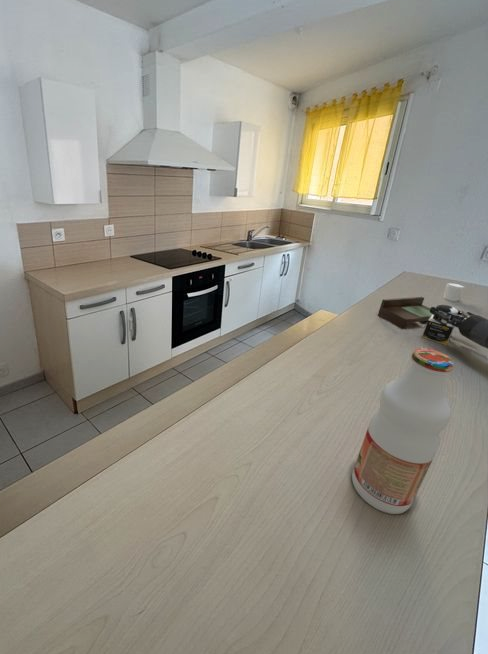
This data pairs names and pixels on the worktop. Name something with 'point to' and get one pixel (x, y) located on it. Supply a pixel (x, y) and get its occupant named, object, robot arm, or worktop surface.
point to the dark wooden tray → (404, 311)
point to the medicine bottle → (439, 327)
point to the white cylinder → (453, 291)
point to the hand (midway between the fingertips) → (440, 309)
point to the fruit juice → (404, 433)
